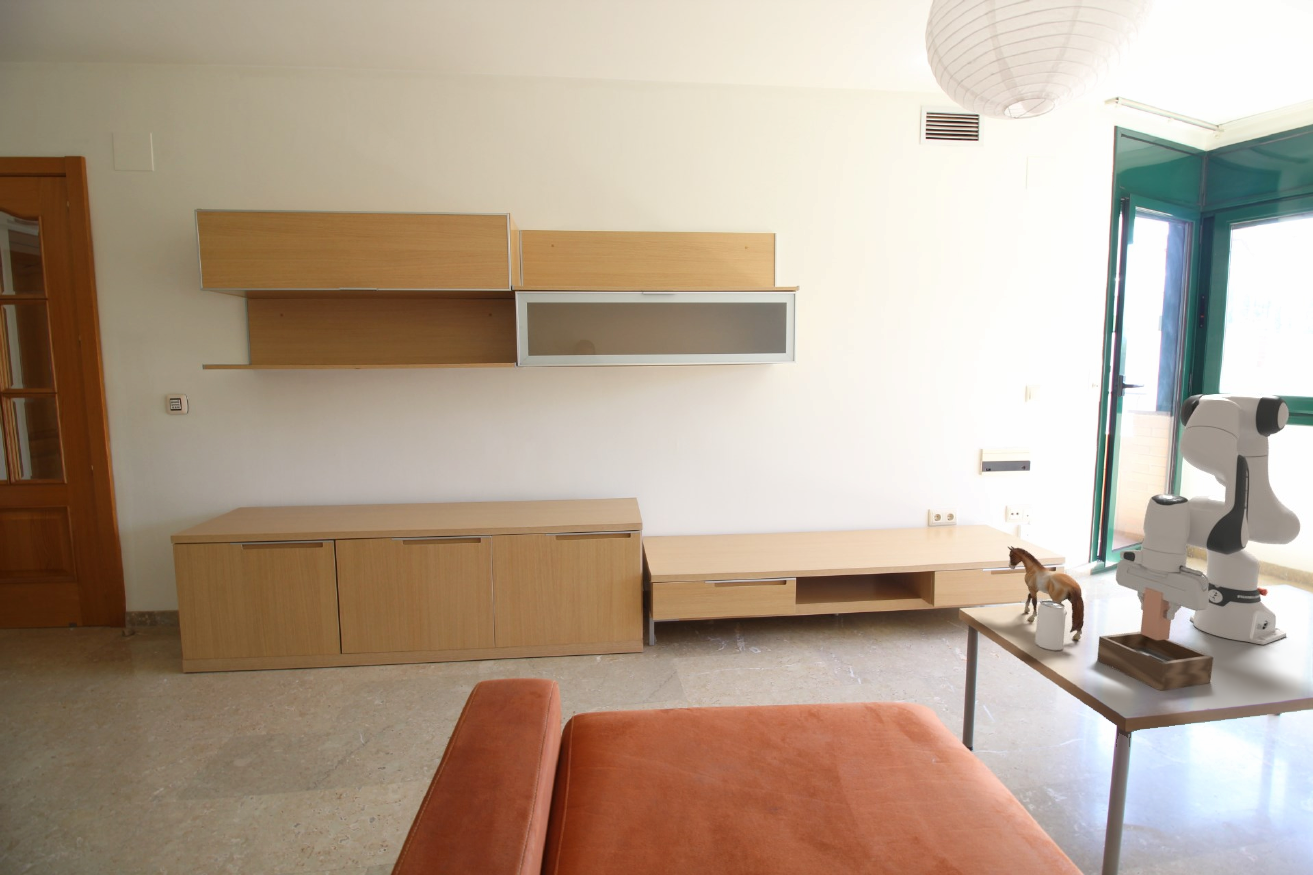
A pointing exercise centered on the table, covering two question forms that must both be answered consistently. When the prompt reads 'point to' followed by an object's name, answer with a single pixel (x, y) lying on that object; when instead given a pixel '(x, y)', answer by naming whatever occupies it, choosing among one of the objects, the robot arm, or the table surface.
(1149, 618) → the peg
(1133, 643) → the wooden tray
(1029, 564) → the horse figurine
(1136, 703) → the table surface
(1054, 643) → the can
